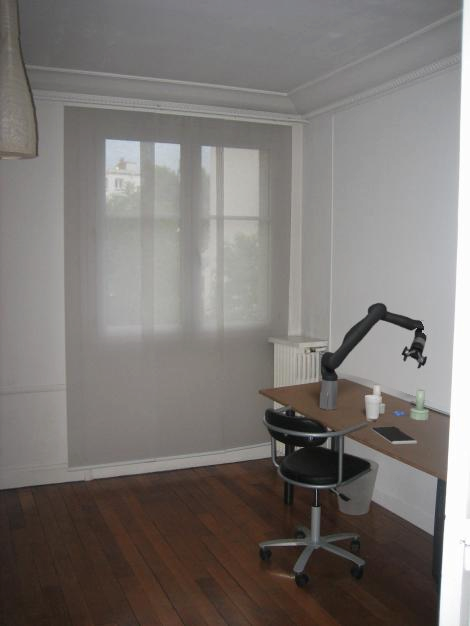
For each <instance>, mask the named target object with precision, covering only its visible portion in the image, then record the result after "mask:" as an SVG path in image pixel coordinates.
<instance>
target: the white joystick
mask: <svg viewBox="0 0 470 626" xmlns="http://www.w3.org/2000/svg"><path fill="white" fill-rule="evenodd" d="M381 393H382V385H381V384H379V383H373V386H372V395H377V396H381ZM381 397H382V396H381ZM385 412H386V404H385V403H384V402H383V401H382V402H381V407H380V412H379V415H380V414H381V415H382V414H384V413H385Z"/></svg>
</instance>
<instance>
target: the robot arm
mask: <svg viewBox="0 0 470 626" xmlns="http://www.w3.org/2000/svg"><path fill="white" fill-rule="evenodd" d="M379 321H384V322H387V323H390V324H392V325H395V326H398V327H400V328H402V329H405V330H408V331H414V337H413V339H412V342H411V344H410V347H409V348H408V346H405V347H404V348H403V351H402V352H401V356H403V359H402V360H403V362H406V361H407V358H412V359H414V360H416V362H417V363H418V364H417V369H420V368H421V367H424V366H425V365H426V363H427V359H428V357H427V356H423V353H424V350H425V346H426V342H427V335H425V334H424V333H422V330H424V326H423V324H422V322H421V321H422V320H421V321H420V319H414V318H410V317H408V316H406V315H403V314H398V313H393V312H391V311H389V310H388V308H387V306H386V304H385V303H383V302H377V303H373V304H371V305H370V306H369V307H368V309H367V314H366V316H365V317H364V318H362V319H361V320H359V321H358V322H357V323H355V324H354V325H353V326H352V327H351V328H350V329H349V330H348V331H347V332H346V333H345V335H344V337H343V339H342V342H341V345H340V346H339V347H338V349H336V350H335V351H334V352H331V351H326V352H324V353H323V354H322V356H321V358H320V375H321V391H320V393H319V409H323V410H325V409H326V410H325V411H328V410H329V411H332V410H333V409H334V410H336V409H337V406H338V405H337V403H338V402H337V401H338V400H337V399H338V382H339V379H338V378H339V376H338V374H337V372H336V369H338V368H339V367H340V366H341V365H342V364H343V362H345V359H346V358H347V357H348V356H349V354H350V353H351V352H352V351H353V350H354V349H355V348H356V347H357V346H358V345H359V344H360V343H361V341H362V340H363V339H364V338H365V337H366V336H367V335H368V333H369V332H370V331H371V330H372V329H373V328H374V326H375V325H376V324H377V323H378V322H379ZM416 328H417V329H416ZM334 410H333V411H334Z"/></svg>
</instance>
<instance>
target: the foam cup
mask: <svg viewBox="0 0 470 626" xmlns="http://www.w3.org/2000/svg"><path fill="white" fill-rule="evenodd" d="M382 400H383V397H382V396H377V395H373V394H367V395H365V396H364V402H365V403H364V405H365V416H366V417H365V418H366V421H368V422H377V420H378V419H379V416H380V414H379V412H380V407H381V402H382V403H383V401H382ZM375 419H377V420H375Z"/></svg>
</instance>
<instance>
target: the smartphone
mask: <svg viewBox="0 0 470 626" xmlns="http://www.w3.org/2000/svg"><path fill="white" fill-rule="evenodd" d="M370 429H371V430H372V431H373V432H374V433H375V434H377V435H379V436H380V437H381V438H383V439H384V440H386V441H387V442H389V443H390V444H392V445H410V444H411V445H412V444H418V441H417V440H416V439H414V438H413V437H411V436H409V435H408V434H406V433H405V432H403V431H401V430H400V429H399V428H396V427H395V426H371V427H370Z"/></svg>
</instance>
